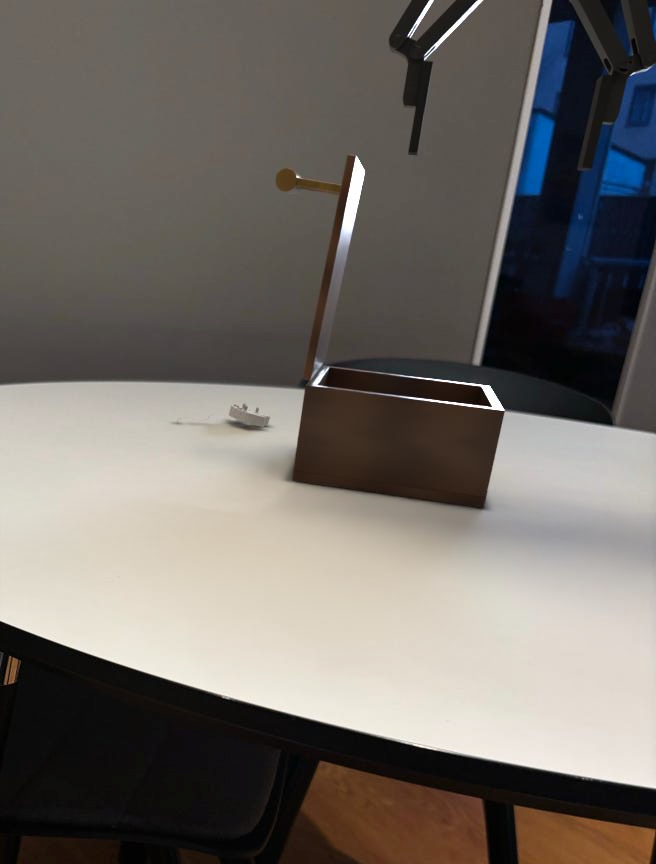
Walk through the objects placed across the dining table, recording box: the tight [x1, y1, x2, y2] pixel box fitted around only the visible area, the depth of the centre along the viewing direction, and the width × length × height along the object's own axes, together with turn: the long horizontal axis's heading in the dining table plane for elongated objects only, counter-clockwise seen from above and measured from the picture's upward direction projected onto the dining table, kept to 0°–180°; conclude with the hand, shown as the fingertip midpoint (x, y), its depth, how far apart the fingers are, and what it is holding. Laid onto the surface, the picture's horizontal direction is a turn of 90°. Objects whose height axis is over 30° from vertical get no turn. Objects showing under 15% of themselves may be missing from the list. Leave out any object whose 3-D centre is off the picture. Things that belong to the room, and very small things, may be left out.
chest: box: [291, 364, 506, 509], centre depth 102 cm, size 18×18×9 cm
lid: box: [274, 153, 366, 381], centre depth 98 cm, size 19×18×7 cm
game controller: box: [177, 403, 271, 428], centre depth 120 cm, size 6×12×3 cm, turn 129°
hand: (497, 162), depth 82 cm, fingers open, 13 cm apart
